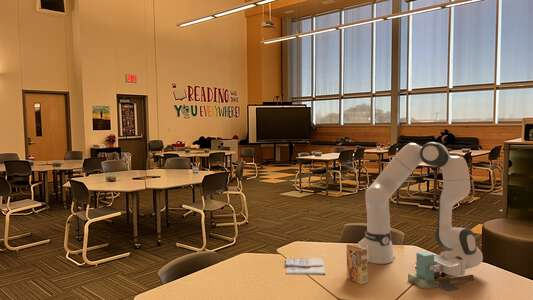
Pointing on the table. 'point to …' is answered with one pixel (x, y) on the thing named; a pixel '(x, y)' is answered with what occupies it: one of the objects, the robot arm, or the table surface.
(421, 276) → the teal block
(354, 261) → the candy box
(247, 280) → the table surface
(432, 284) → the channel
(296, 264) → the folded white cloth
